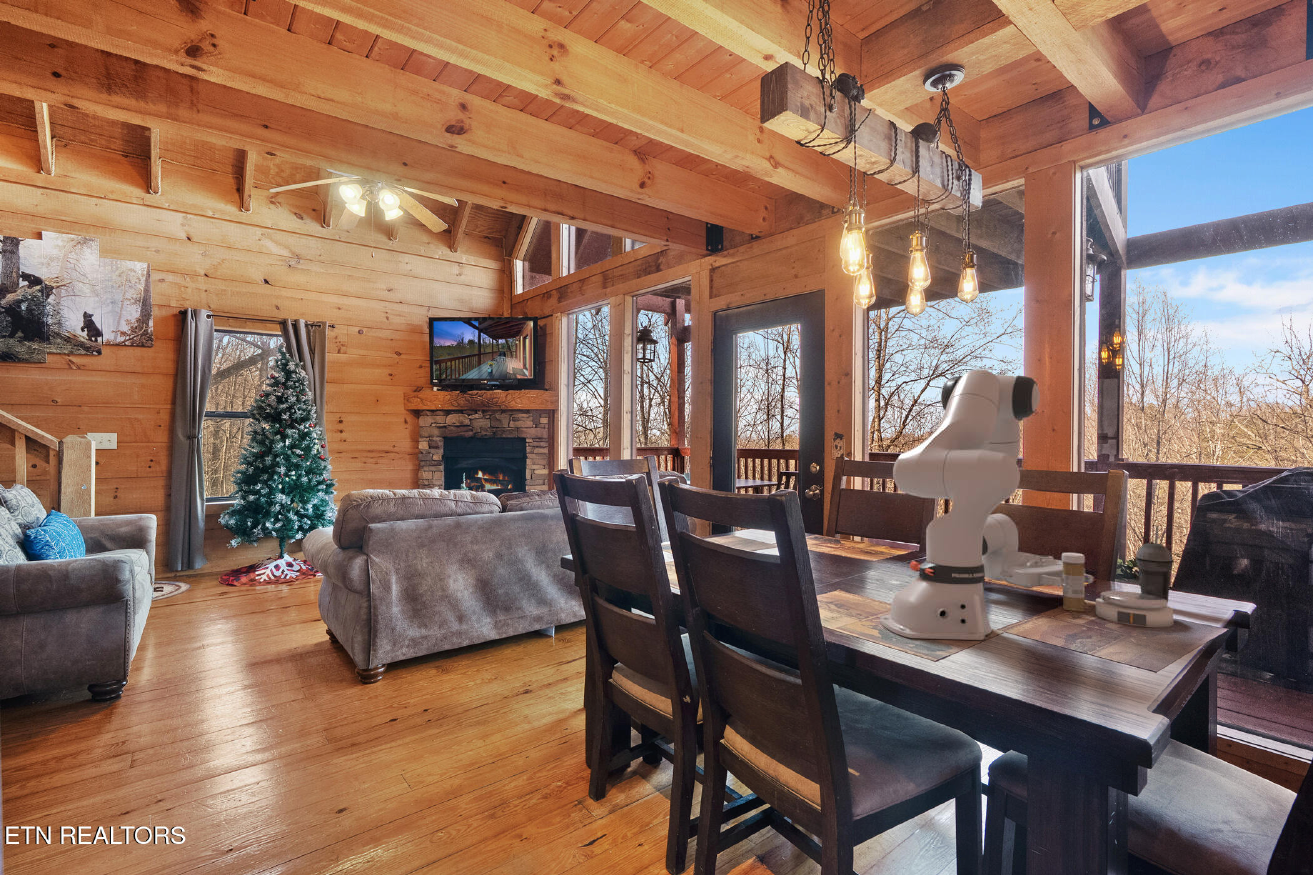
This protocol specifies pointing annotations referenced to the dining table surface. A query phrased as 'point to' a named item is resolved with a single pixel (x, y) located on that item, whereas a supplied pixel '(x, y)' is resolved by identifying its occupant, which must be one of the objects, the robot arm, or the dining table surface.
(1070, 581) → the sprinkles bottle
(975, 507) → the robot arm
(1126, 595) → the scale pan
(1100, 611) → the scale base
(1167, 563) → the beverage cup
